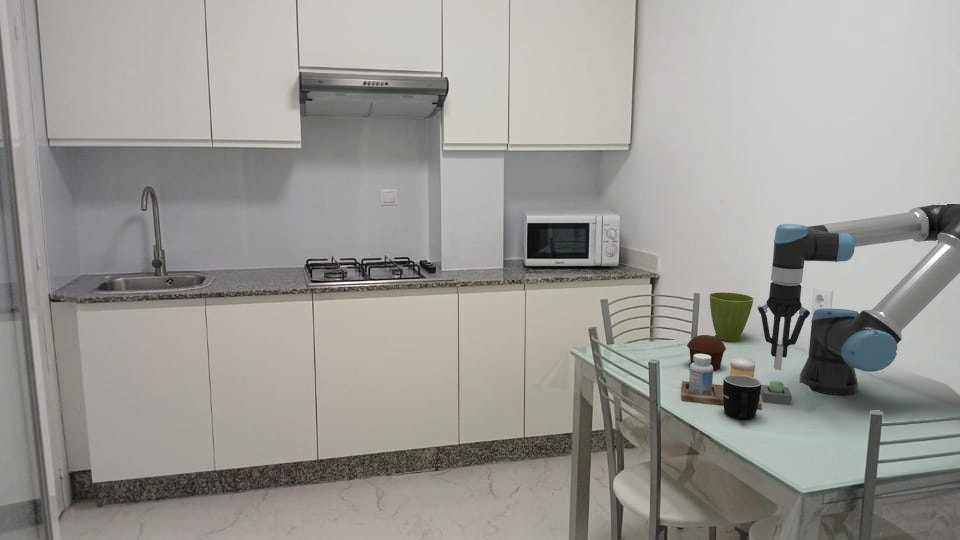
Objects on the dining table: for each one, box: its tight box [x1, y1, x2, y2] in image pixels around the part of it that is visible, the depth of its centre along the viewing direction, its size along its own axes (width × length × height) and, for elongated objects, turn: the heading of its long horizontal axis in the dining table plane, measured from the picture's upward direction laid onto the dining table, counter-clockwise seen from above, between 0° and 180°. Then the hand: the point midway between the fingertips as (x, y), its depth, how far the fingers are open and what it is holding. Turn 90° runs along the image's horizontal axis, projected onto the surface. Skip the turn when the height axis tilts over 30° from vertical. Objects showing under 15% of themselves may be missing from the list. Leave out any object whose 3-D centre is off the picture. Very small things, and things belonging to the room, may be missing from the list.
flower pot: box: [709, 291, 754, 343], centre depth 238 cm, size 15×15×16 cm
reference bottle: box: [729, 356, 756, 378], centre depth 177 cm, size 6×6×11 cm
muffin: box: [686, 334, 727, 372], centre depth 207 cm, size 12×11×10 cm
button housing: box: [760, 384, 793, 406], centre depth 178 cm, size 7×7×4 cm
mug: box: [722, 374, 762, 421], centre depth 166 cm, size 12×9×10 cm
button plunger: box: [769, 380, 785, 393], centre depth 178 cm, size 3×3×4 cm
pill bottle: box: [688, 354, 714, 396], centre depth 180 cm, size 6×6×11 cm
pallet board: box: [680, 380, 763, 411], centre depth 179 cm, size 20×12×2 cm, turn 73°
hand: (777, 368), depth 177 cm, fingers closed
